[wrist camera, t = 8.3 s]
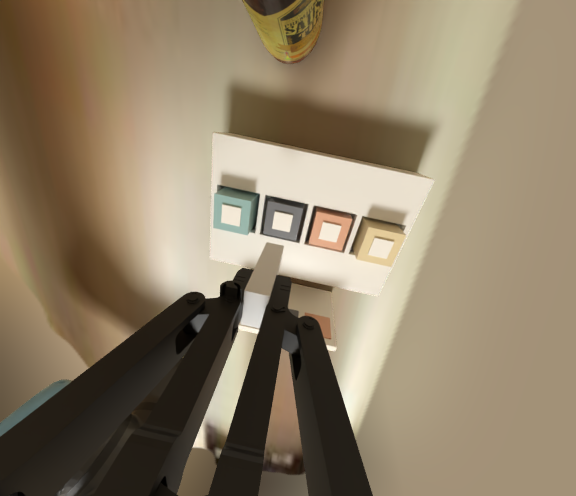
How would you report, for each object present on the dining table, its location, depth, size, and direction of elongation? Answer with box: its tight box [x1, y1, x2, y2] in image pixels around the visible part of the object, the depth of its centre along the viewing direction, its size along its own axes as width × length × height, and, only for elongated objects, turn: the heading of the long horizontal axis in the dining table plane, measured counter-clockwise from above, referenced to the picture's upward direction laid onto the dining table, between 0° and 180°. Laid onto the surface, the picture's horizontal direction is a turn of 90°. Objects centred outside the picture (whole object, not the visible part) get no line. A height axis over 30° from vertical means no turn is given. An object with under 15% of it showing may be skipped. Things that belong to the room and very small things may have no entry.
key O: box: [263, 196, 304, 241], centre depth 29 cm, size 4×4×4 cm
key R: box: [213, 186, 259, 235], centre depth 27 cm, size 4×4×4 cm
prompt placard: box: [238, 283, 337, 351], centre depth 33 cm, size 14×1×11 cm, turn 79°
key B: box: [309, 206, 352, 251], centre depth 28 cm, size 4×4×4 cm
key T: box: [352, 216, 406, 267], centre depth 27 cm, size 4×4×4 cm
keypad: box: [210, 132, 435, 297], centre depth 30 cm, size 24×16×5 cm, turn 79°
